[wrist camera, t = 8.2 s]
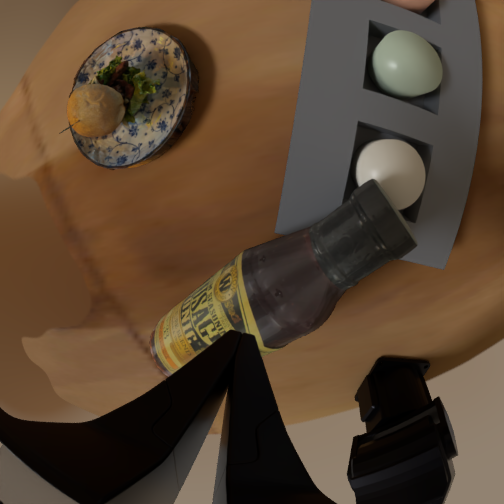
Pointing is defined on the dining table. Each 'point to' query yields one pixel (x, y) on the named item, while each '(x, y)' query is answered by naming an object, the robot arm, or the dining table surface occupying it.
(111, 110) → the burger
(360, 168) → the cream button
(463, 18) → the panel
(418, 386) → the robot arm
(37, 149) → the dining table surface
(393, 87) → the sage button
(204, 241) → the dining table surface
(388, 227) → the sauce bottle
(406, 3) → the terracotta button
